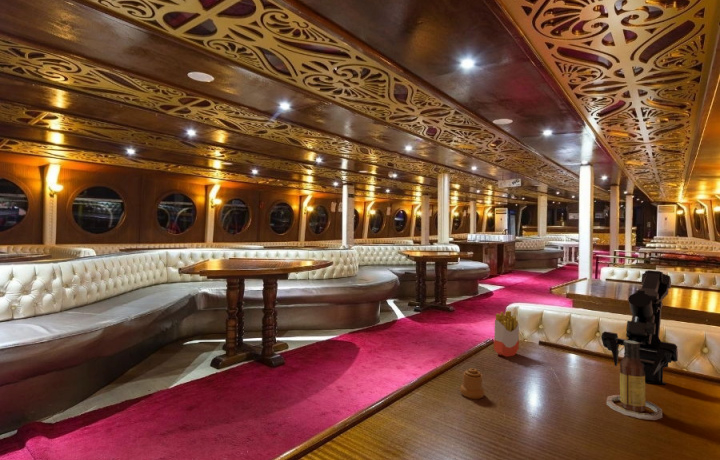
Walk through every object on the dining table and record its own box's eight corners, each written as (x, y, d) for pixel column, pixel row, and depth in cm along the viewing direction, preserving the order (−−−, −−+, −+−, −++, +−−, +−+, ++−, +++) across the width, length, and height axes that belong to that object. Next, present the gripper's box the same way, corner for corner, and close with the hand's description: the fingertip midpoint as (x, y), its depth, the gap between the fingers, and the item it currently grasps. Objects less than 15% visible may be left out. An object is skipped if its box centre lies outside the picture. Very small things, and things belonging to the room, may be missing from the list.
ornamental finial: (466, 388, 127) (488, 395, 122) (455, 394, 121) (477, 402, 116) (467, 363, 127) (489, 369, 122) (456, 369, 121) (478, 375, 116)
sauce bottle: (649, 410, 114) (651, 343, 114) (639, 415, 111) (641, 346, 111) (624, 401, 120) (626, 338, 120) (614, 405, 117) (616, 340, 117)
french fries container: (519, 354, 164) (520, 312, 165) (502, 358, 159) (504, 314, 159) (510, 351, 168) (511, 310, 168) (493, 354, 163) (495, 312, 163)
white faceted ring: (643, 400, 121) (643, 397, 121) (673, 421, 108) (673, 417, 108) (598, 397, 122) (598, 393, 122) (622, 417, 109) (622, 413, 109)
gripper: (603, 306, 124) (593, 346, 117) (678, 316, 111) (672, 363, 103) (608, 326, 130) (599, 366, 122) (680, 338, 117) (674, 384, 109)
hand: (633, 369), depth 114 cm, fingers open, 9 cm apart
